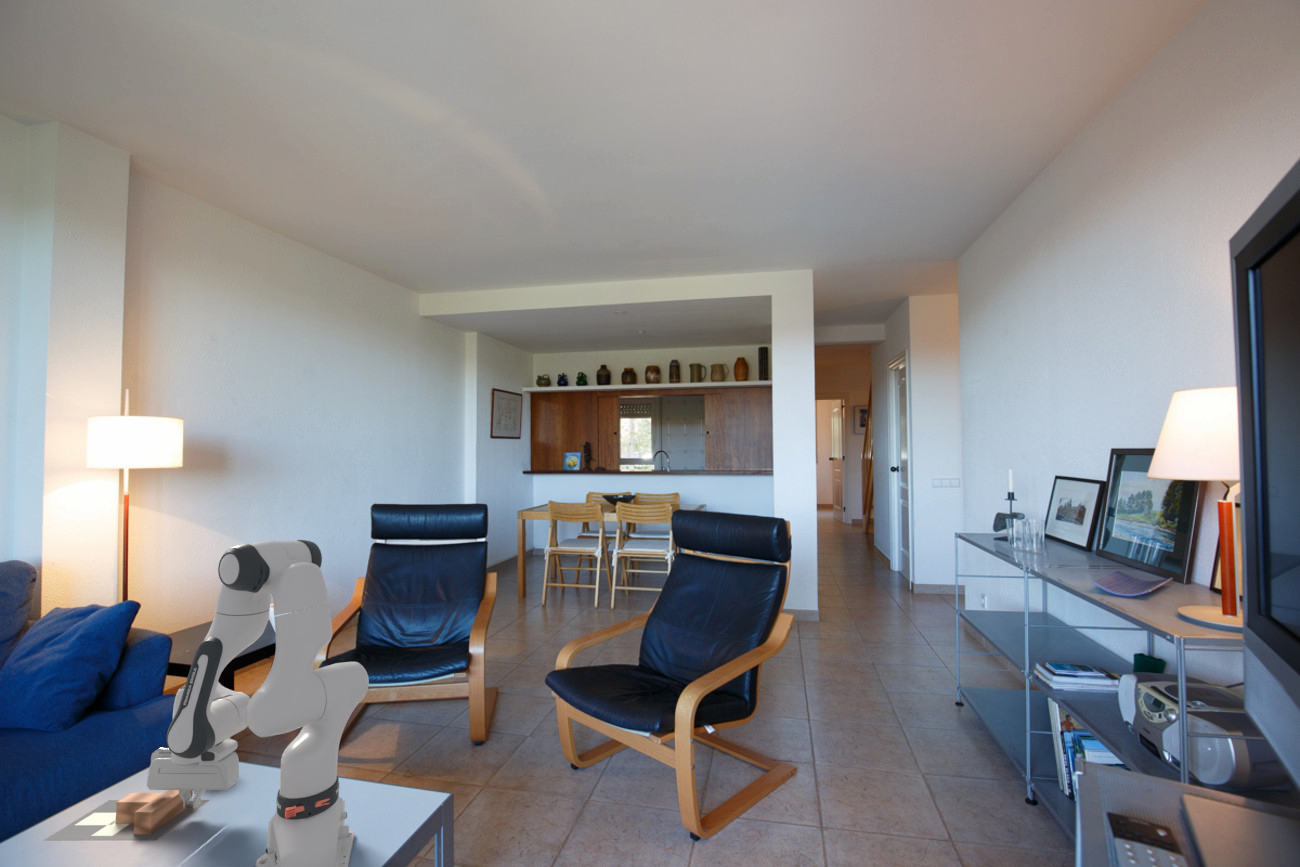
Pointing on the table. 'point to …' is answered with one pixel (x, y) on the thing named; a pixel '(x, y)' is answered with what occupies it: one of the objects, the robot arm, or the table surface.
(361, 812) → the table surface
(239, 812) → the table surface
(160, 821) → the T block
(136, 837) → the board
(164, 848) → the table surface
